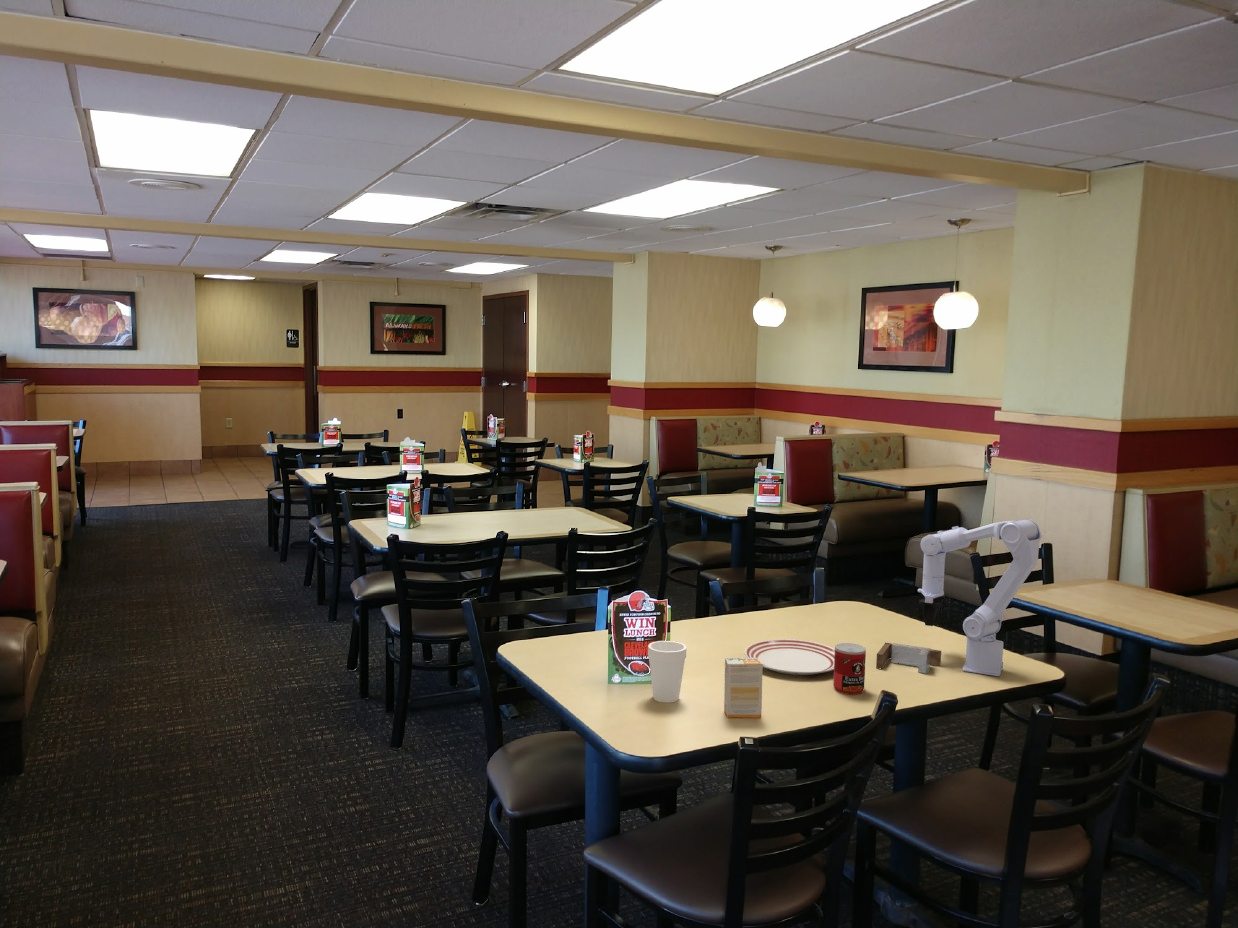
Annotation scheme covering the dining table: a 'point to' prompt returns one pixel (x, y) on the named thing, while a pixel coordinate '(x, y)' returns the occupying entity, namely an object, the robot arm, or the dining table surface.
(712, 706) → the dining table surface
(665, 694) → the foam cup
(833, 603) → the dining table surface
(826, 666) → the dinner plate
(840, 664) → the canned food
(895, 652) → the bracket
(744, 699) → the supplement box
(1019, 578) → the robot arm
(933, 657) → the brown wooden l-shape
